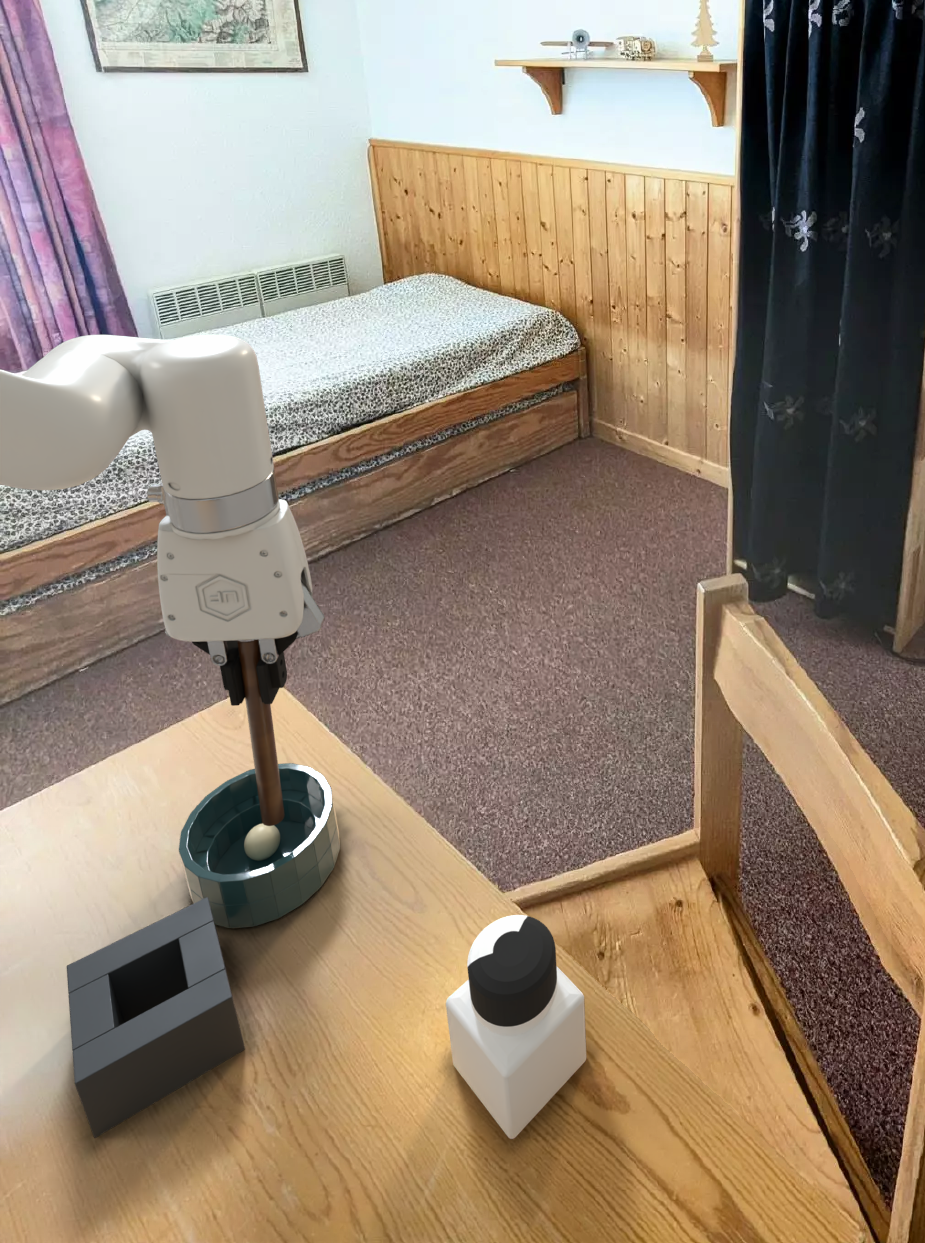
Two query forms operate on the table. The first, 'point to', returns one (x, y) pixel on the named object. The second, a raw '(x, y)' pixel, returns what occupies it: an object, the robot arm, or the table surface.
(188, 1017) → the holder
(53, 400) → the robot arm
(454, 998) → the medicine bottle
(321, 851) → the bowl
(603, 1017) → the table surface
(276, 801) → the spurtle
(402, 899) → the table surface
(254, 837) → the beige egg
